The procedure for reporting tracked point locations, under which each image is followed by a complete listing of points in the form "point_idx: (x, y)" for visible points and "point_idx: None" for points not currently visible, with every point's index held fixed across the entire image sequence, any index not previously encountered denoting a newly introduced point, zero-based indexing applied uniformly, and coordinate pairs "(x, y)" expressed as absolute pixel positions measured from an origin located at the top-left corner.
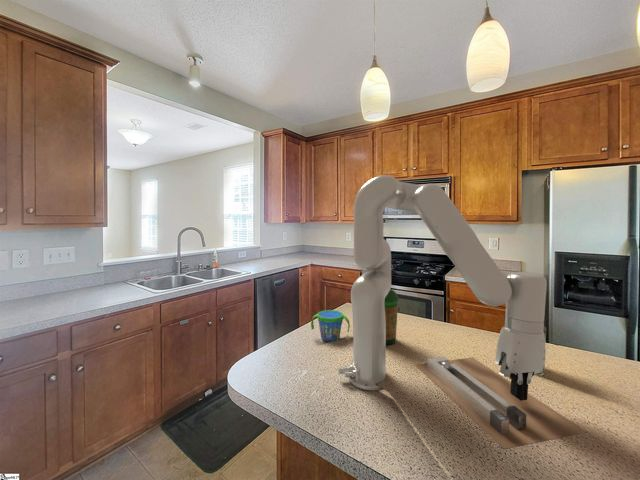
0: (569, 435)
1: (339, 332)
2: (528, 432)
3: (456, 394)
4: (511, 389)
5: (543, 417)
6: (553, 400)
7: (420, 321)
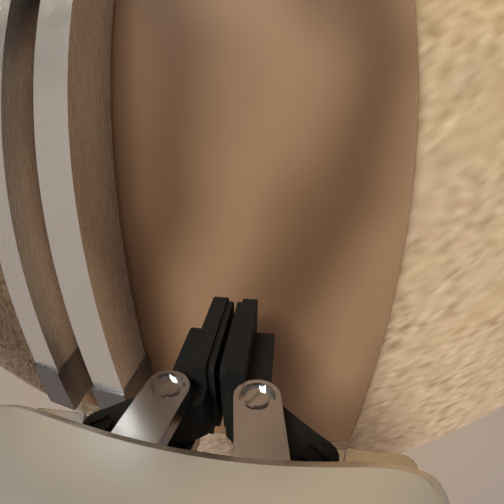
0: None
1: None
2: None
3: None
4: (188, 337)
5: (282, 379)
6: (485, 268)
7: None
